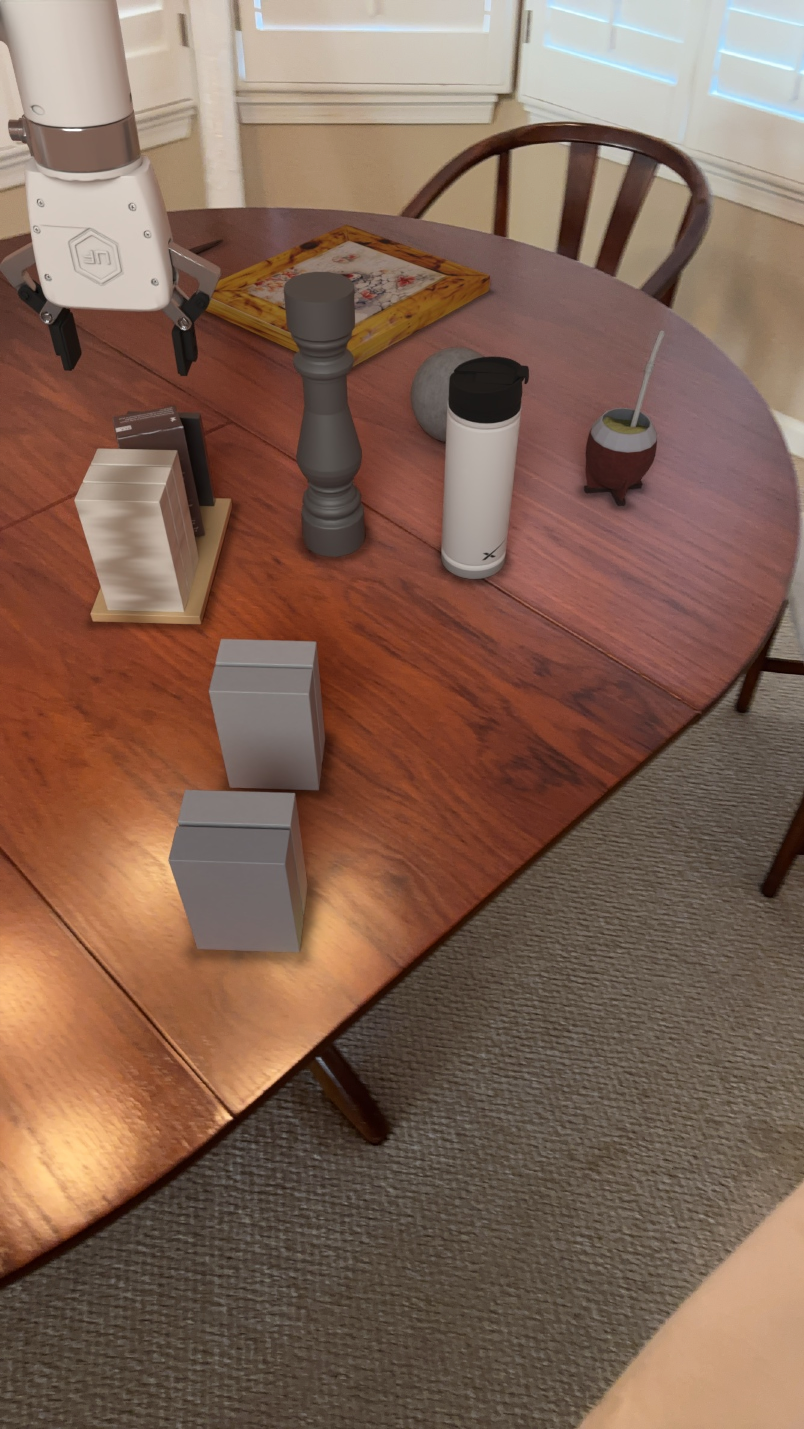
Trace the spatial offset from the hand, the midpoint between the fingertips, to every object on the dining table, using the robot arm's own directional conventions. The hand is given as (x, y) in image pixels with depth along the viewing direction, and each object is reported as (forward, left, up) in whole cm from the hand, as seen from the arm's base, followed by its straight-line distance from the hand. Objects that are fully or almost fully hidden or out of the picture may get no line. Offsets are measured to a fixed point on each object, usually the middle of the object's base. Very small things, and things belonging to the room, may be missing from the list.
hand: (129, 365), depth 80 cm
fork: (-11, +66, -19) cm, 69 cm away
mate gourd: (+46, +11, -19) cm, 50 cm away
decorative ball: (+29, +20, -19) cm, 39 cm away
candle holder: (+17, +1, -19) cm, 25 cm away
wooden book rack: (+1, -4, -18) cm, 19 cm away
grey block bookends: (+15, -35, -18) cm, 42 cm away
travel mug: (+31, -2, -19) cm, 36 cm away
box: (0, 0, -18) cm, 18 cm away
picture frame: (+14, +54, -19) cm, 59 cm away
